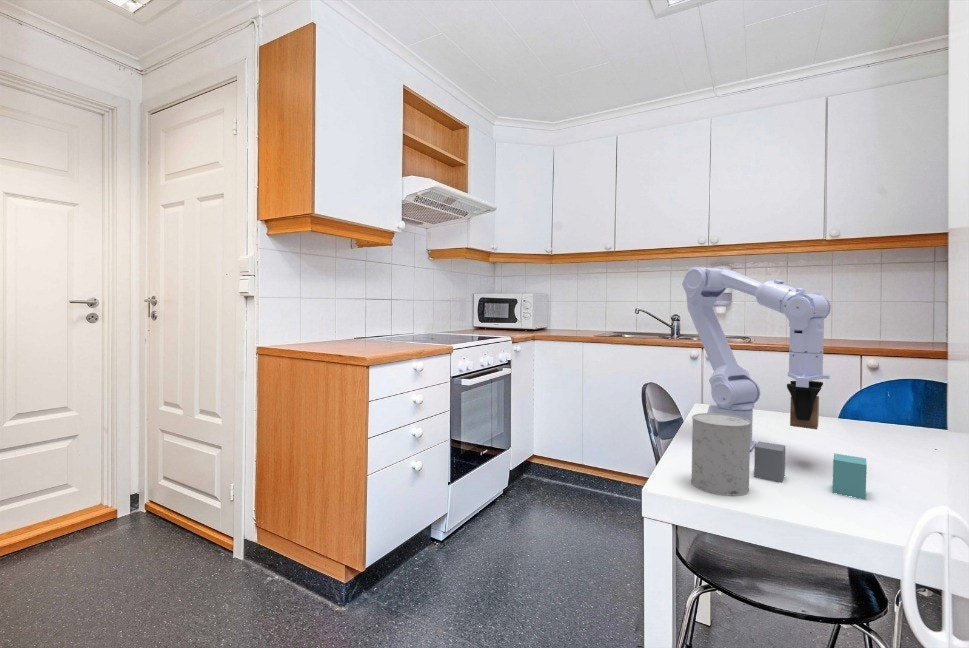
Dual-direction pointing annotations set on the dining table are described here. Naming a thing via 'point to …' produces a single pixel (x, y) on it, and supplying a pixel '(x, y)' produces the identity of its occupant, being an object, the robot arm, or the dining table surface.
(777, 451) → the charcoal block
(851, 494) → the teal block
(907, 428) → the dining table surface
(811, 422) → the walnut block
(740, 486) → the grey concrete cylinder
